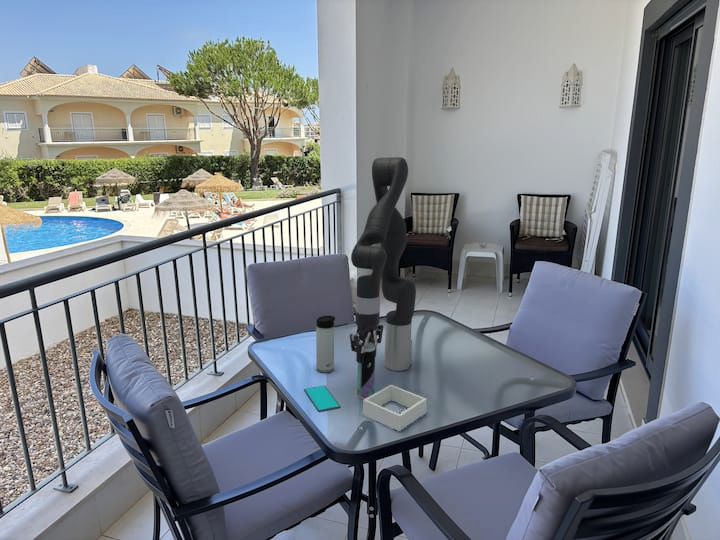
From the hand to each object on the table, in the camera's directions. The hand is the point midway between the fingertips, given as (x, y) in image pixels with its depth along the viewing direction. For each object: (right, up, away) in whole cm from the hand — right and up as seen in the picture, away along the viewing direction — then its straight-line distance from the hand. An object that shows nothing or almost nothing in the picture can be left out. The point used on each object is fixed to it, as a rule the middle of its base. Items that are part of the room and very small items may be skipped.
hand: (366, 359), depth 160 cm
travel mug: (-14, -7, +21) cm, 27 cm away
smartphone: (-14, -13, +1) cm, 19 cm away
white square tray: (+8, -15, -8) cm, 19 cm away
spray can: (0, -12, +3) cm, 13 cm away
